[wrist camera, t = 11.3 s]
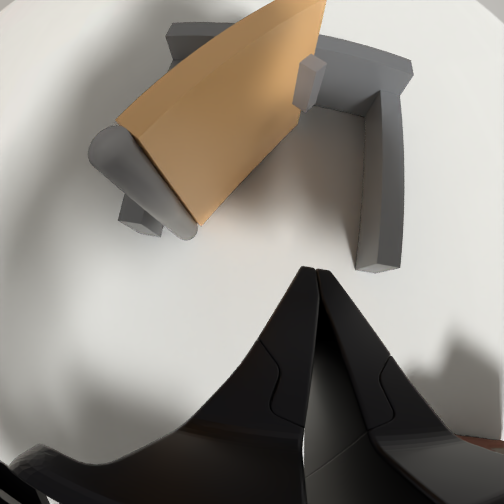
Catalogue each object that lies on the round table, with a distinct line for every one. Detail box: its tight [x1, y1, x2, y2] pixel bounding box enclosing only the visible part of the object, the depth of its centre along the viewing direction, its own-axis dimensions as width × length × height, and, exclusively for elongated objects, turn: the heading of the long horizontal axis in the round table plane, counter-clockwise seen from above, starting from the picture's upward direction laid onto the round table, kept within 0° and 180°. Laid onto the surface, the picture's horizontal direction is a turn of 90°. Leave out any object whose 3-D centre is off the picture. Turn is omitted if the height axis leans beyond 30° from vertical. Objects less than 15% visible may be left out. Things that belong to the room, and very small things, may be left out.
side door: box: [88, 0, 327, 240], centre depth 11 cm, size 2×9×9 cm, turn 139°
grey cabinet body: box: [118, 22, 414, 273], centre depth 14 cm, size 12×13×5 cm
